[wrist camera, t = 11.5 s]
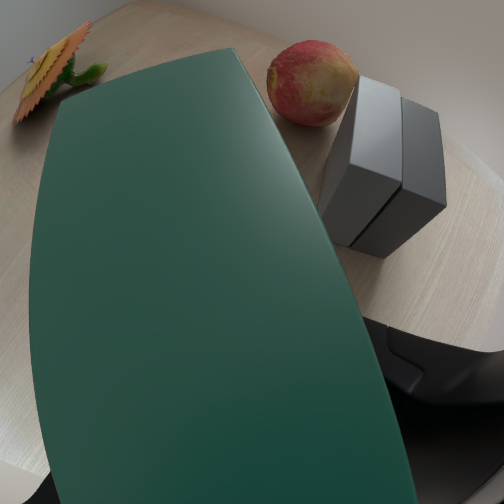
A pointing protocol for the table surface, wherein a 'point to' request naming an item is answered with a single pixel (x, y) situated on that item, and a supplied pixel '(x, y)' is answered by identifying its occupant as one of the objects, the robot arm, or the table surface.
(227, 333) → the green book
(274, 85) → the fruit
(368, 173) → the grey grooved block
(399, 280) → the table surface
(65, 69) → the flower
